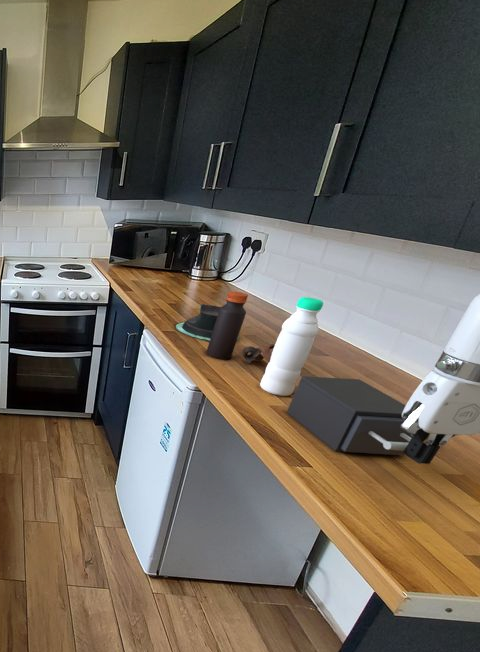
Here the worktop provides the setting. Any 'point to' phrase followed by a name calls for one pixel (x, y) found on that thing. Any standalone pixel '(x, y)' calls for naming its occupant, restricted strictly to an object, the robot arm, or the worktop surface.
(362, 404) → the grey drawer unit
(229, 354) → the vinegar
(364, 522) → the worktop surface
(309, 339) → the water bottle
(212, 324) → the dark green hat
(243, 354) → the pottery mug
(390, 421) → the mini chest drawer
